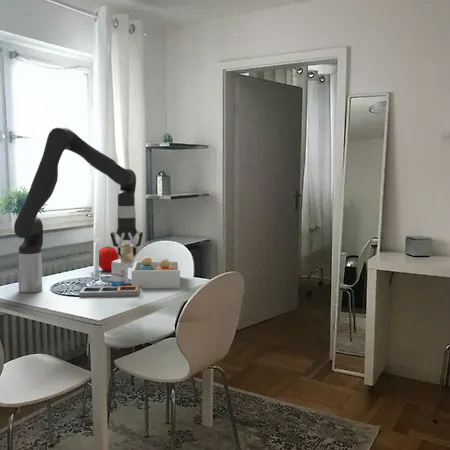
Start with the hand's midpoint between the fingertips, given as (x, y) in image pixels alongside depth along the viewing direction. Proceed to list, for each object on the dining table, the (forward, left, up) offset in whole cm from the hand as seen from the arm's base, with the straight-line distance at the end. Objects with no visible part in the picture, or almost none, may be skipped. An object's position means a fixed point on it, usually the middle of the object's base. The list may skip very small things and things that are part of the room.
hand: (127, 255), depth 216 cm
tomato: (-16, +55, -18) cm, 60 cm away
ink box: (-6, +20, -18) cm, 27 cm away
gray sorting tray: (-8, 0, -17) cm, 19 cm away
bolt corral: (+11, +25, -17) cm, 33 cm away
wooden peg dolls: (+12, +27, -18) cm, 35 cm away
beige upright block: (0, 0, -2) cm, 2 cm away
